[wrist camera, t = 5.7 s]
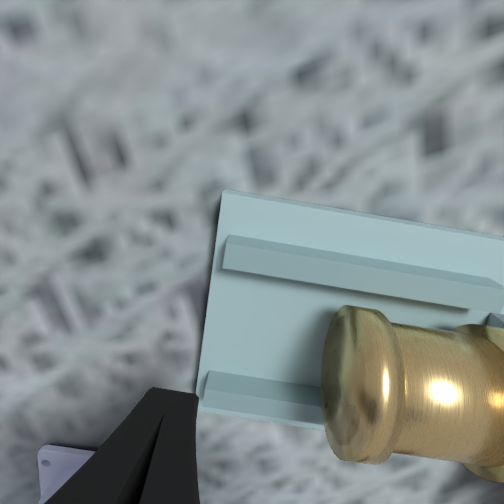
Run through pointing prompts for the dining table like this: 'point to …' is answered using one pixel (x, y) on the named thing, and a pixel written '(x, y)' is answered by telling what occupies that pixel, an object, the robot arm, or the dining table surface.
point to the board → (324, 295)
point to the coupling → (413, 391)
